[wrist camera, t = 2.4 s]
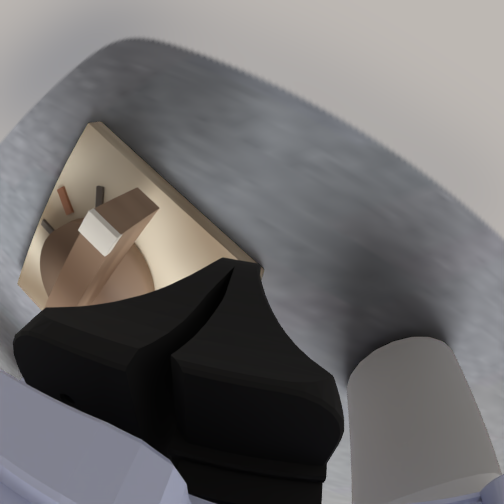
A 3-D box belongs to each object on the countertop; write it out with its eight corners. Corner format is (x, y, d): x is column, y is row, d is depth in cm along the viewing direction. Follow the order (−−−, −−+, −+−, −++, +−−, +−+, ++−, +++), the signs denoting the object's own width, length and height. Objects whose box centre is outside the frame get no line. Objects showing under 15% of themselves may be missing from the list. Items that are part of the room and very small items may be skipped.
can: (360, 419, 21) (366, 566, 10) (331, 352, 18) (331, 545, 8) (454, 386, 18) (497, 527, 7) (446, 309, 16) (526, 483, 5)
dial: (120, 351, 19) (84, 402, 15) (39, 275, 18) (-8, 311, 14) (218, 245, 15) (184, 298, 11) (106, 142, 14) (38, 158, 10)
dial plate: (139, 380, 22) (131, 392, 21) (27, 276, 20) (15, 285, 19) (264, 269, 17) (260, 282, 16) (101, 121, 15) (86, 123, 14)
